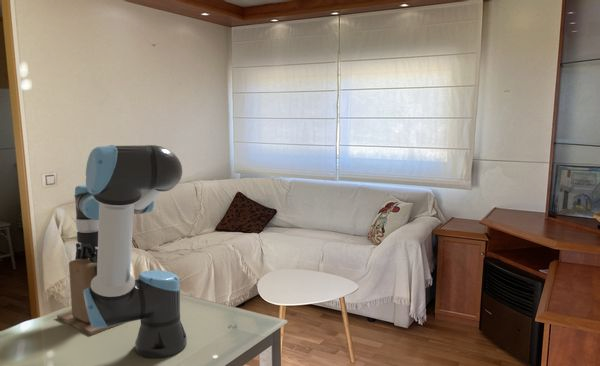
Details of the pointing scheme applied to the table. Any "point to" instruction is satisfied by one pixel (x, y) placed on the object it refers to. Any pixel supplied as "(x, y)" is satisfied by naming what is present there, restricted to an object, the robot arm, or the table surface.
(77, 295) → the wooden block
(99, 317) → the robot arm
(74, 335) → the table surface
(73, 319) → the board
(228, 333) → the table surface
